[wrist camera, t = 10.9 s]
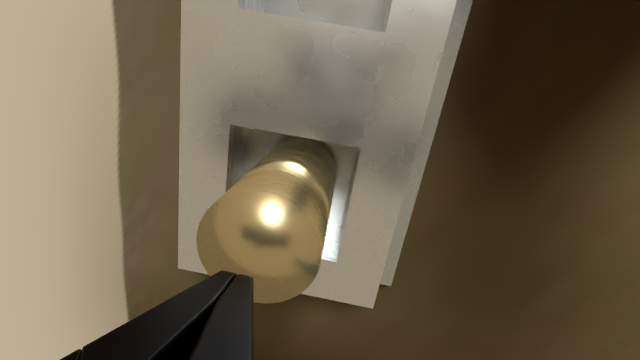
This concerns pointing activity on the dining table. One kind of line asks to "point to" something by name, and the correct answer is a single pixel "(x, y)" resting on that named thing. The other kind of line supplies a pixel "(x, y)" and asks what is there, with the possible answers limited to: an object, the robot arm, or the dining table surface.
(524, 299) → the dining table surface
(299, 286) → the solid brass peg
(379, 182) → the aluminium jig
